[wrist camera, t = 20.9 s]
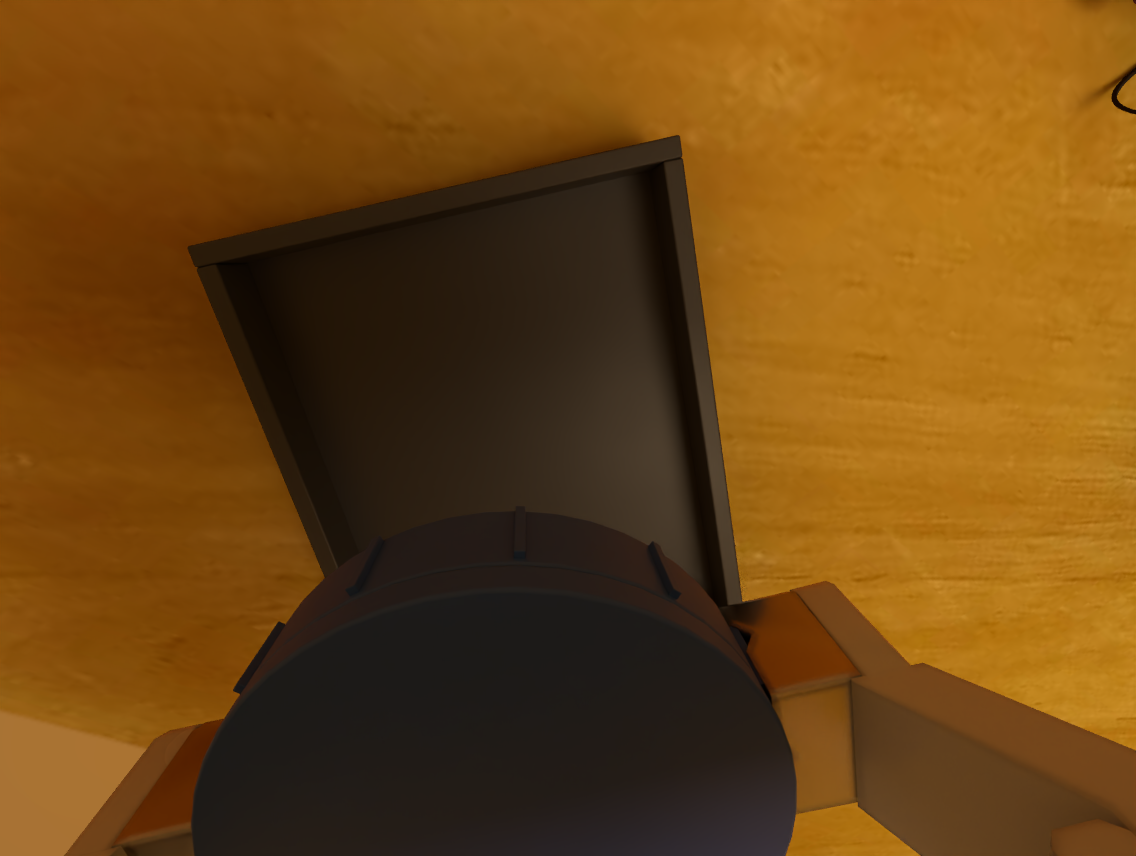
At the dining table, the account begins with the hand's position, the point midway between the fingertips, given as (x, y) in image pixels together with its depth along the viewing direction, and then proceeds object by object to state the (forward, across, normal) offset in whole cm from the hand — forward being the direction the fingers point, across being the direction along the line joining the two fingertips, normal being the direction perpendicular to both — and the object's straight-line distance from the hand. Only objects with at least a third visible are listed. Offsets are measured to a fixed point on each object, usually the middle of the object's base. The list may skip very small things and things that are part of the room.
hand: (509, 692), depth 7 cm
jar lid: (-2, 0, 0) cm, 2 cm away
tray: (+10, 0, 0) cm, 10 cm away
